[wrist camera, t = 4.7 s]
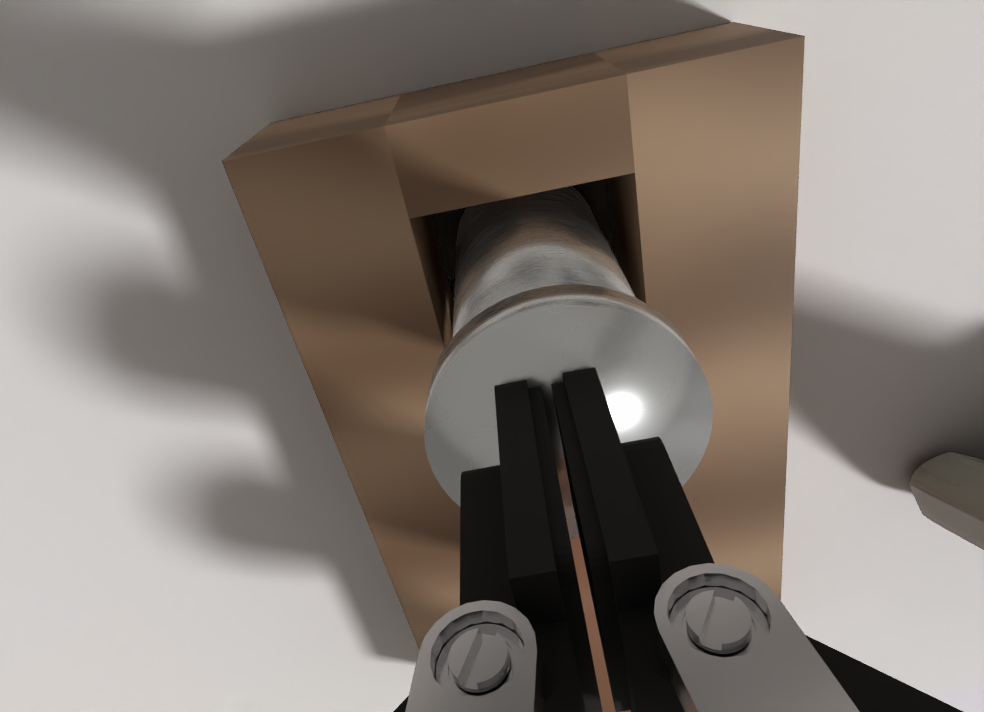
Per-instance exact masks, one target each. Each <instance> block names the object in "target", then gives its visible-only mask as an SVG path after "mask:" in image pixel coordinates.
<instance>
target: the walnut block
mask: <svg viewBox="0 0 984 712" xmlns="http://www.w3.org/2000/svg"><path fill="white" fill-rule="evenodd" d="M804 38H805V36H802V35H797V34H791V33H786V32H781V31H776V30H771V29H766V28H761V27H756V26H751V25H746V24H741V23H735V22H732V23H727V24H722V25H718V26H713V27H709V28H704V29H699V30H695V31H690V32H686V33H681V34H676V35H672V36H667V37H663V38H658V39H654V40H649V41H644V42H640V43H635V44H631V45H626V46H621V47H617V48H612V49H608V50H603V51H598V52H594V53H589V54H585V55H580V56H576V57H571V58H566V59H562V60H557V61H553V62H548V63H543V64H539V65H534V66H530V67H525V68H521V69H516V70H511V71H507V72H502V73H498V74H493V75H488V76H484V77H479V78H475V79H470V80H465V81H461V82H456V83H452V84H447V85H443V86H438V87H433V88H429V89H424V90H420V91H415V92H410V93H406V94H401V95H397V96H392V97H387V98H383V99H378V100H374V101H369V102H365V103H360V104H355V105H351V106H346V107H342V108H337V109H332V110H328V111H323V112H319V113H314V114H309V115H305V116H300V117H296V118H291V119H287V120H282V121H277V122H273V123H270V124H269V125H268V126H267V127H265V128H264V129H263V130H261V131H260V132H259V133H258V134H256V135H255V136H254V137H252V138H251V139H250V140H249V141H247V142H246V143H245V144H243V145H242V146H241V147H239V148H238V149H237V150H236V151H234V152H233V153H232V154H230V155H229V156H228V157H227V158H225V159H224V160H223V161H222V163H223V166H224V168H225V171H226V173H227V176H228V178H229V180H230V183H231V185H232V188H233V190H234V193H235V195H236V198H237V200H238V203H239V205H240V208H241V210H242V213H243V215H244V217H245V220H246V222H247V225H248V227H249V230H250V232H251V235H252V237H253V240H254V242H255V245H256V247H257V250H258V252H259V255H260V257H261V259H262V262H263V264H264V267H265V269H266V272H267V274H268V277H269V279H270V282H271V284H272V287H273V289H274V292H275V294H276V297H277V299H278V301H279V304H280V306H281V309H282V311H283V314H284V316H285V319H286V321H287V324H288V326H289V329H290V331H291V334H292V336H293V338H294V341H295V343H296V346H297V348H298V351H299V353H300V356H301V358H302V361H303V363H304V366H305V368H306V371H307V373H308V376H309V378H310V380H311V383H312V385H313V388H314V390H315V393H316V395H317V398H318V400H319V403H320V405H321V408H322V410H323V413H324V415H325V417H326V420H327V422H328V425H329V427H330V430H331V432H332V435H333V437H334V440H335V442H336V445H337V447H338V450H339V452H340V455H341V457H342V459H343V462H344V464H345V467H346V469H347V472H348V474H349V477H350V479H351V482H352V484H353V487H354V489H355V492H356V494H357V496H358V499H359V501H360V504H361V506H362V509H363V511H364V514H365V516H366V519H367V521H368V524H369V526H370V529H371V531H372V534H373V536H374V538H375V541H376V543H377V546H378V548H379V551H380V553H381V556H382V558H383V561H384V563H385V566H386V568H387V571H388V573H389V576H390V578H391V580H392V583H393V585H394V588H395V590H396V593H397V595H398V598H399V600H400V603H401V605H402V608H403V610H404V613H405V615H406V617H407V620H408V622H409V625H410V627H411V630H412V632H413V635H414V637H415V640H416V642H417V645H418V647H419V650H420V648H421V645H422V642H423V640H424V637H425V635H426V634H427V633H428V632H429V630H430V629H431V628H432V626H433V625H434V624H435V622H436V621H438V620H439V619H440V618H441V617H443V616H444V615H445V614H446V613H448V612H449V611H450V610H452V609H455V608H457V607H459V606H460V506H459V505H457V504H456V503H455V502H454V501H453V500H452V499H451V498H450V497H449V496H448V494H447V493H446V492H445V491H444V489H443V488H442V487H441V485H440V484H439V482H438V480H437V479H436V477H435V475H434V473H433V471H432V469H431V466H430V464H429V461H428V457H427V453H426V449H425V440H424V425H425V415H426V404H427V394H428V387H429V383H430V379H431V375H432V372H433V370H434V368H435V365H436V363H437V361H438V358H439V357H440V355H441V354H442V352H443V350H444V349H445V347H446V346H447V344H448V343H449V342H450V340H451V339H452V335H453V312H454V301H453V297H452V293H451V290H450V286H449V282H448V278H447V274H446V270H445V266H444V262H443V258H442V254H441V250H440V246H439V242H438V238H437V234H436V230H435V226H434V222H433V218H432V214H435V213H440V212H445V211H450V210H455V209H460V208H465V207H469V206H474V205H479V204H484V203H489V202H494V201H499V200H504V199H509V198H514V197H519V196H523V195H528V194H533V193H538V192H543V191H548V190H553V189H558V188H563V187H568V186H573V185H577V184H582V183H587V182H592V181H597V180H602V179H607V182H608V191H609V200H610V209H611V219H612V228H613V237H614V247H615V256H616V260H617V262H618V264H619V266H620V268H621V270H622V272H623V274H624V275H625V277H626V279H627V281H628V283H629V285H630V287H631V289H632V291H633V293H634V295H635V297H636V298H638V299H639V300H641V301H643V302H645V303H647V304H648V305H650V306H652V307H653V308H654V309H656V310H657V311H658V312H660V313H661V314H662V315H664V316H665V317H666V318H667V319H668V320H669V321H670V322H671V323H672V324H673V325H674V326H675V327H676V328H677V330H678V331H679V333H680V334H681V335H682V337H683V338H684V340H685V341H686V343H687V345H688V346H689V348H690V350H691V351H692V353H693V355H694V356H695V358H696V360H697V362H698V363H699V365H700V367H701V369H702V371H703V373H704V375H705V377H706V379H707V382H708V385H709V389H710V392H711V397H712V405H713V422H712V430H711V434H710V439H709V442H708V445H707V448H706V450H705V453H704V456H703V457H702V459H701V461H700V463H699V465H698V467H697V469H696V470H695V471H694V473H693V474H692V476H691V477H690V478H689V480H688V481H687V482H686V483H685V484H684V486H683V487H682V488H683V490H684V493H685V495H686V497H687V500H688V502H689V504H690V507H691V509H692V511H693V514H694V516H695V518H696V521H697V523H698V525H699V528H700V530H701V532H702V535H703V537H704V539H705V542H706V544H707V546H708V549H709V551H710V553H711V556H712V558H713V560H714V563H715V564H725V565H730V566H733V567H736V568H739V569H742V570H745V571H747V572H749V573H751V574H752V575H754V576H756V577H757V578H759V579H761V580H762V581H764V582H765V584H766V585H767V586H768V587H769V588H770V589H771V590H772V591H773V592H774V593H775V594H776V595H777V596H778V598H779V599H780V601H781V580H782V556H783V533H784V509H785V486H786V462H787V438H788V415H789V391H790V368H791V344H792V321H793V297H794V273H795V250H796V226H797V203H798V179H799V155H800V132H801V108H802V85H803V61H804Z"/></svg>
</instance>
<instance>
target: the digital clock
mask: <svg viewBox="0 0 984 712" xmlns="http://www.w3.org/2000/svg"><path fill="white" fill-rule="evenodd" d="M910 480H911V481H910V482H909V485H910V488H911V490H912V492H913V495H914V497H915V499H916V502H917V504H918V506H919V508H920V510H921V512H922V514H923V515H924V516H926V517H927V518H928V519H930V520H931V521H933V522H935V523H936V524H938V525H940V526H942V527H943V528H945V529H947V530H949V531H951V532H952V533H954V534H956V535H958V536H960V537H961V538H963V539H965V540H967V541H969V542H970V543H972V544H974V545H976V546H978V547H979V548H981V549H983V550H984V460H983V459H979V458H975V457H971V456H967V455H963V454H959V453H955V452H948V453H944V454H941V455H939V456H936V457H934V458H932V459H930V460H928V461H926V462H925V463H923V464H921V465H920V466H919V467H918V468H917V470H916V471H915V472H914V473H913V475H912V477H911V479H910Z"/></svg>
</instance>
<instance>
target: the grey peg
mask: <svg viewBox="0 0 984 712" xmlns="http://www.w3.org/2000/svg"><path fill="white" fill-rule="evenodd" d="M591 367H595V368H596V371H597V374H598V377H599V380H600V382H601V385H602V388H603V391H604V394H605V397H606V400H607V403H608V406H609V409H610V412H611V415H612V418H613V421H614V424H615V427H616V430H617V433H618V436H619V439H620V442H621V443H625V442H630V441H636V440H641V439H647V438H653V437H659V438H661V440H662V442H663V444H664V446H665V448H666V451H667V453H668V455H669V458H670V460H671V462H672V465H673V467H674V469H675V472H676V474H677V476H678V479H679V481H680V483H681V486H682V487H683V486H684V484H685V483H686V482H687V481H688V480H689V478H690V477H691V476H692V474H693V473H694V471H695V470H696V469H697V467H698V465H699V463H700V461H701V459H702V457H703V456H704V453H705V450H706V448H707V445H708V442H709V439H710V434H711V430H712V422H713V405H712V397H711V392H710V389H709V385H708V382H707V379H706V377H705V375H704V373H703V371H702V369H701V367H700V365H699V363H698V362H697V360H696V358H695V356H694V355H693V353H692V351H691V350H690V348H689V346H688V345H687V343H686V341H685V340H684V338H683V337H682V335H681V334H680V333H679V331H678V330H677V328H676V327H675V326H674V325H673V324H672V323H671V322H670V321H669V320H668V319H667V318H666V317H665V316H664V315H662V314H661V313H660V312H658V311H657V310H656V309H654V308H653V307H652V306H650V305H648V304H647V303H645V302H643V301H641V300H639V299H638V298H636V297H635V295H634V293H633V291H632V289H631V287H630V285H629V283H628V281H627V279H626V277H625V275H624V274H623V272H622V270H621V268H620V266H619V264H618V262H617V260H616V258H615V256H614V254H613V252H612V250H611V248H610V246H609V244H608V242H607V240H606V238H605V236H604V234H603V232H602V230H601V229H600V227H599V225H598V223H597V221H596V219H595V217H594V215H593V213H592V211H591V209H590V207H589V205H588V203H587V202H586V201H585V199H584V198H583V196H582V195H581V194H580V193H579V192H578V191H577V190H576V189H575V188H573V187H572V186H568V187H563V188H558V189H553V190H548V191H543V192H538V193H533V194H528V195H523V196H519V197H514V198H509V199H504V200H499V201H494V202H489V203H484V204H479V205H474V206H469V207H466V209H465V211H464V213H463V215H462V217H461V220H460V223H459V227H458V231H457V243H456V266H455V289H454V312H453V335H452V339H451V340H450V342H449V343H448V344H447V346H446V347H445V349H444V350H443V352H442V354H441V355H440V357H439V358H438V361H437V363H436V365H435V368H434V370H433V372H432V375H431V379H430V383H429V387H428V394H427V404H426V415H425V425H424V440H425V449H426V453H427V457H428V461H429V464H430V466H431V469H432V471H433V473H434V475H435V477H436V479H437V480H438V482H439V484H440V485H441V487H442V488H443V489H444V491H445V492H446V493H447V494H448V496H449V497H450V498H451V499H452V500H453V501H454V502H455V503H456V504H457V505H459V506H460V481H461V473H462V472H463V471H468V470H474V469H480V468H485V467H491V466H496V465H500V459H499V445H498V432H497V418H496V405H495V392H494V386H495V385H501V384H506V383H511V382H517V381H522V380H527V384H528V388H532V387H537V386H541V390H542V395H543V400H544V405H545V410H546V416H547V421H548V426H549V431H550V437H551V442H552V447H553V452H554V458H555V463H556V468H557V473H558V478H559V484H560V489H561V494H562V499H563V505H564V510H565V515H566V520H567V526H568V531H569V536H570V539H575V538H579V533H578V528H577V523H576V518H575V513H574V508H573V503H572V497H571V491H570V486H569V480H568V475H567V469H566V464H565V458H564V453H563V447H562V442H561V436H560V431H559V425H558V420H557V414H556V409H555V403H554V398H553V392H552V387H551V384H554V383H559V382H563V376H562V373H565V372H570V371H575V370H581V369H586V368H591Z"/></svg>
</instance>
